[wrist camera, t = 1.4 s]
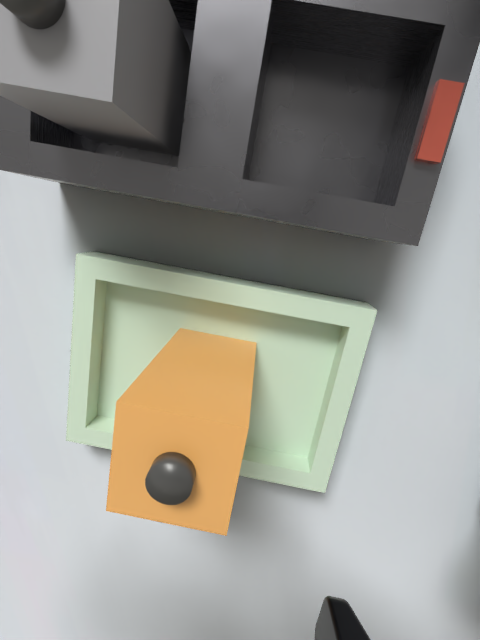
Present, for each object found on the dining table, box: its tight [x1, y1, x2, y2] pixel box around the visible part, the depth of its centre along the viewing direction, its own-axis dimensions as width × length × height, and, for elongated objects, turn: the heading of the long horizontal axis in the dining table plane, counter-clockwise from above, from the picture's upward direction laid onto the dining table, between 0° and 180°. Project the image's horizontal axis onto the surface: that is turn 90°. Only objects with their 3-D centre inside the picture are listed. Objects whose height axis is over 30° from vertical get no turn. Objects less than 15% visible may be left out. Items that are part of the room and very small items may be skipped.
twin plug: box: [0, 0, 191, 156], centre depth 11 cm, size 4×4×8 cm
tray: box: [66, 251, 377, 493], centre depth 18 cm, size 14×10×2 cm
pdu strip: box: [0, 0, 480, 246], centre depth 14 cm, size 16×8×4 cm, turn 80°
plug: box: [106, 328, 257, 536], centre depth 15 cm, size 4×4×9 cm
